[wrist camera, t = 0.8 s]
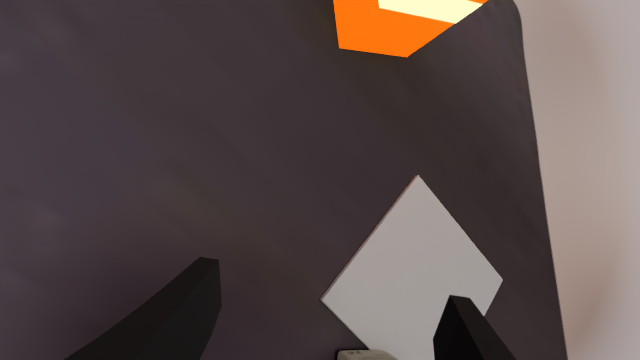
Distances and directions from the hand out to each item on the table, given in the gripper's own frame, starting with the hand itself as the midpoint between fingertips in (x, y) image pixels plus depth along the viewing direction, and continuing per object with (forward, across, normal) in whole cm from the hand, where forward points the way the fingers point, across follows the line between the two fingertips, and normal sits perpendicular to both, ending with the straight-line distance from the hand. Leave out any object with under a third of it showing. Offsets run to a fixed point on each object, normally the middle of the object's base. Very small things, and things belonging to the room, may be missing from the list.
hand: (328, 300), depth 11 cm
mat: (+15, -8, +13) cm, 22 cm away
